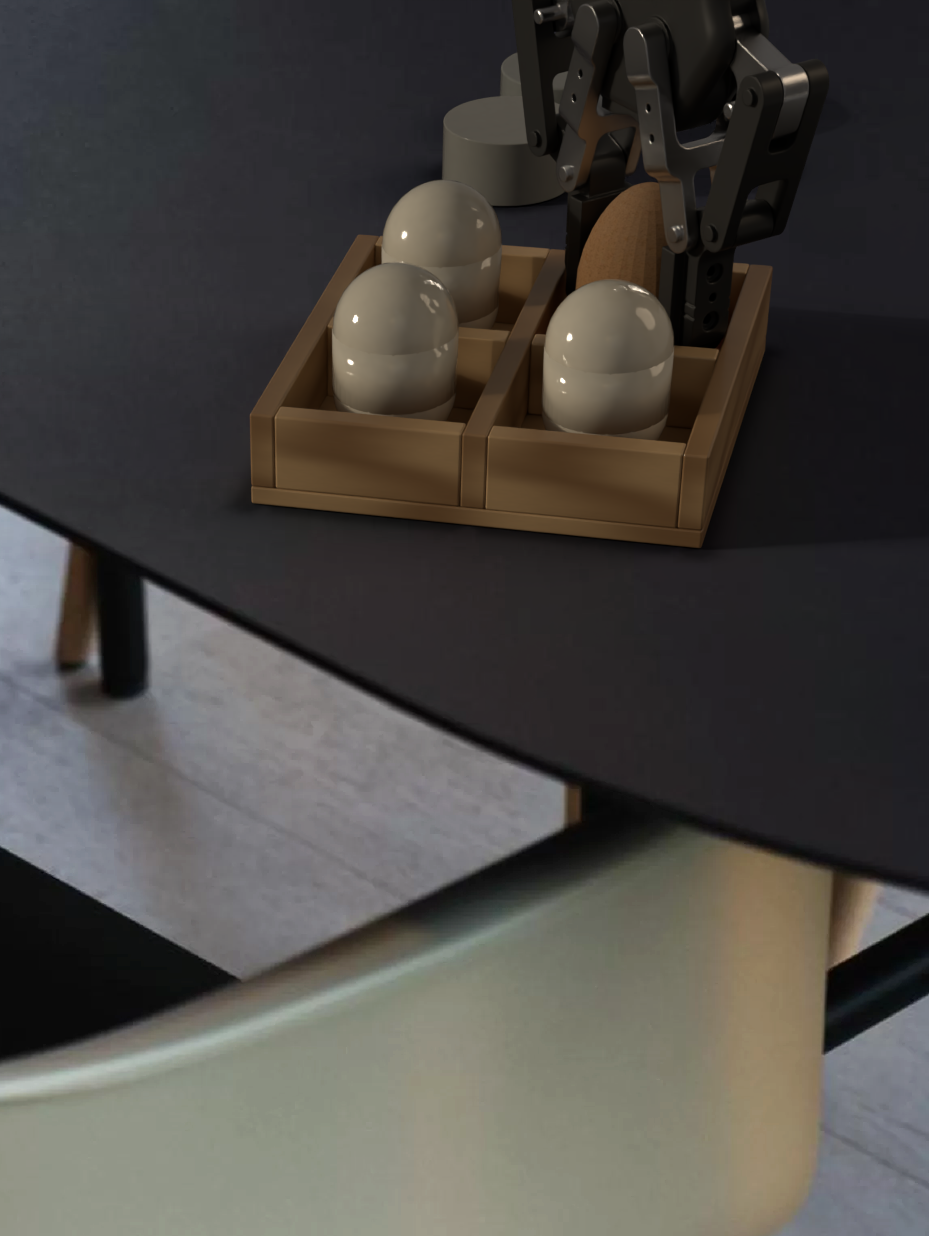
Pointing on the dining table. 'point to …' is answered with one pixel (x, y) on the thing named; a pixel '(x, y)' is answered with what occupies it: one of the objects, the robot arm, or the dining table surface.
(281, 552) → the dining table surface
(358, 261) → the egg tray
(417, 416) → the cream egg
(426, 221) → the cream egg
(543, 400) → the cream egg
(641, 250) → the egg
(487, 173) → the grey short cylinder
